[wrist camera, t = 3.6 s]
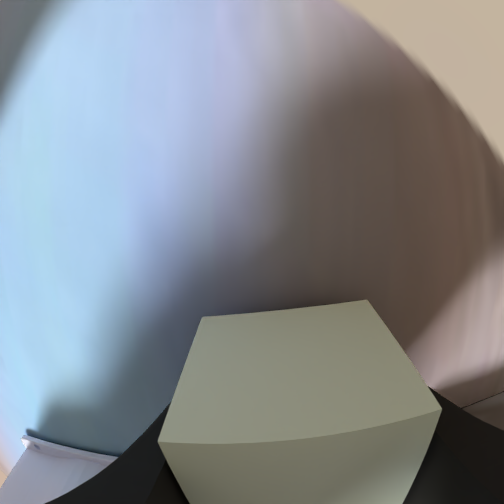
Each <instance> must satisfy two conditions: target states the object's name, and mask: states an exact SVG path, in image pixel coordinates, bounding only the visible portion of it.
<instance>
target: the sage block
mask: <svg viewBox="0 0 504 504" xmlns="http://www.w3.org/2000/svg"><path fill="white" fill-rule="evenodd" d="M441 411H442V408H441V406H440V405H439V403H438V402H437V400H436V398H435V397H434V395H433V394H432V392H431V391H430V389H429V388H428V386H427V385H426V383H425V382H424V380H423V379H422V377H421V375H420V374H419V373H418V371H417V370H416V368H415V367H414V365H413V364H412V362H411V361H410V359H409V358H408V356H407V355H406V353H405V352H404V350H403V349H402V348H401V346H400V345H399V343H398V342H397V340H396V339H395V338H394V336H393V335H392V333H391V332H390V330H389V329H388V328H387V326H386V325H385V323H384V322H383V321H382V319H381V318H380V317H379V315H378V314H377V312H376V311H375V310H374V308H373V307H372V306H371V304H370V303H369V301H368V300H360V301H353V302H345V303H338V304H330V305H322V306H313V307H305V308H296V309H286V310H276V311H266V312H256V313H244V314H232V315H220V316H206V317H202V318H201V321H200V324H199V326H198V329H197V332H196V335H195V337H194V340H193V343H192V346H191V348H190V351H189V354H188V357H187V359H186V362H185V365H184V368H183V370H182V373H181V376H180V379H179V382H178V384H177V387H176V390H175V393H174V396H173V398H172V401H171V404H170V407H169V410H168V413H167V416H166V418H165V421H164V424H163V427H162V430H161V433H160V436H159V439H158V444H159V446H160V448H161V450H162V452H163V454H164V456H165V458H166V460H167V462H168V464H169V466H170V468H171V470H172V472H173V474H174V476H175V478H176V480H177V481H178V483H179V485H180V487H181V489H182V491H183V492H184V494H185V496H186V498H187V499H188V501H189V503H190V504H402V503H403V501H404V500H405V498H406V496H407V494H408V492H409V490H410V488H411V485H412V483H413V481H414V479H415V477H416V475H417V473H418V470H419V468H420V466H421V464H422V461H423V459H424V456H425V454H426V452H427V449H428V447H429V444H430V442H431V439H432V436H433V434H434V431H435V428H436V425H437V423H438V420H439V417H440V414H441Z"/></svg>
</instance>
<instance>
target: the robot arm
mask: <svg viewBox="0 0 504 504" xmlns="http://www.w3.org/2000/svg"><path fill="white" fill-rule="evenodd" d="M428 388H429V389H430V391H431V392H432V394H433V395H434V397H435V398H436V400H437V402H438V403H439V405H440V406H441V408H442V411H441V414H440V417H439V420H438V423H437V425H436V428H435V431H434V434H433V436H432V439H431V442H430V444H429V447H428V449H427V452H426V454H425V456H424V459H423V461H422V464H421V466H420V468H419V470H418V473H417V475H416V477H415V479H414V481H413V483H412V485H411V488H410V490H409V492H408V494H407V496H406V498H405V500H404V501H403V504H504V430H501V429H499V428H497V427H495V426H493V425H491V424H489V423H486V422H484V421H482V420H480V419H479V418H477V417H475V416H473V415H471V414H470V413H468V412H466V411H465V410H463V409H461V408H460V407H458V406H456V405H455V404H453V403H452V402H450V401H449V400H447V399H446V398H444V397H443V396H441V395H440V394H438V393H437V392H435V391H434V390H433V389H431V388H430V387H428ZM170 404H171V402H170ZM170 404H169V405H168V406H167V407H166V408H165V410H164V411H163V412H162V413H161V414H160V415H159V417H158V418H157V419H156V420H155V421H154V422H153V423H152V424H151V425H150V427H149V428H148V429H147V430H146V431H145V432H144V433H143V434H142V435H141V436H140V437H139V438H138V439H137V440H136V441H135V442H134V443H133V444H132V445H131V446H130V447H129V448H128V449H127V450H126V451H125V452H124V453H123V454H121V455H120V456H119V457H115V456H109V455H103V454H98V453H93V452H88V451H83V450H79V449H74V448H70V447H66V446H62V445H58V444H54V443H51V442H47V441H44V440H40V439H37V438H34V437H30V436H27V435H23V436H22V438H21V441H22V443H23V444H24V445H25V447H26V448H27V449H26V450H25V452H24V453H23V454H22V456H21V457H20V459H19V460H18V462H17V463H16V465H15V466H14V468H13V469H12V471H11V472H10V474H9V476H8V477H7V479H6V480H5V482H4V483H3V485H2V487H1V488H0V504H190V503H189V501H188V499H187V498H186V496H185V494H184V492H183V491H182V489H181V487H180V485H179V483H178V481H177V480H176V478H175V476H174V474H173V472H172V470H171V468H170V466H169V464H168V462H167V460H166V458H165V456H164V454H163V452H162V450H161V448H160V446H159V444H158V439H159V436H160V433H161V430H162V427H163V424H164V421H165V418H166V416H167V413H168V410H169V407H170Z"/></svg>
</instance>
